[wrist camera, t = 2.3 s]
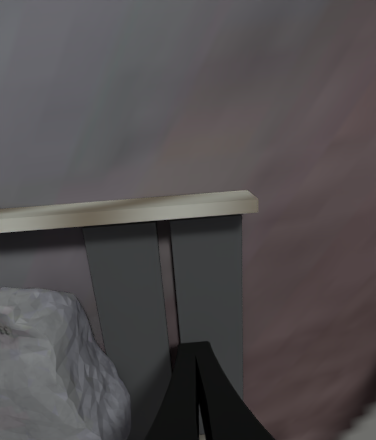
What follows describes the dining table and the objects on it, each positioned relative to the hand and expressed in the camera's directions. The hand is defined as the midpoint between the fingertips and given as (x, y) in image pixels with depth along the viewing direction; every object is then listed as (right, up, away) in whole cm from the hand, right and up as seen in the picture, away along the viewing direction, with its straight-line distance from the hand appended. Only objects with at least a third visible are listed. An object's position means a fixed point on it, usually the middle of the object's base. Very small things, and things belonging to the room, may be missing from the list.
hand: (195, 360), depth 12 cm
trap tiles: (-1, 0, +1) cm, 2 cm away
